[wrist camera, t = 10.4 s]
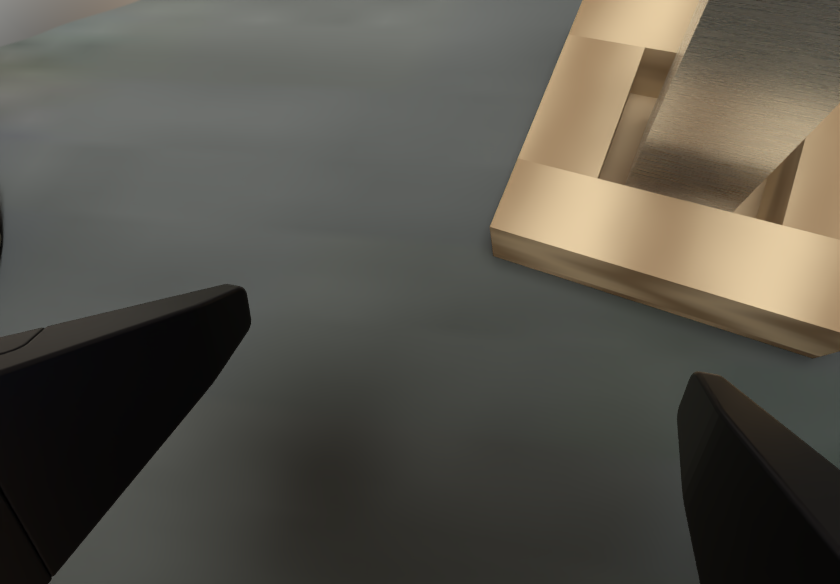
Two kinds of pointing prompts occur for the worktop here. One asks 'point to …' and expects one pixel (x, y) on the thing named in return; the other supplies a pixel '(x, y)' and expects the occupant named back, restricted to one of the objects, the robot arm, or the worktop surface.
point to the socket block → (662, 215)
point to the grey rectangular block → (739, 98)
